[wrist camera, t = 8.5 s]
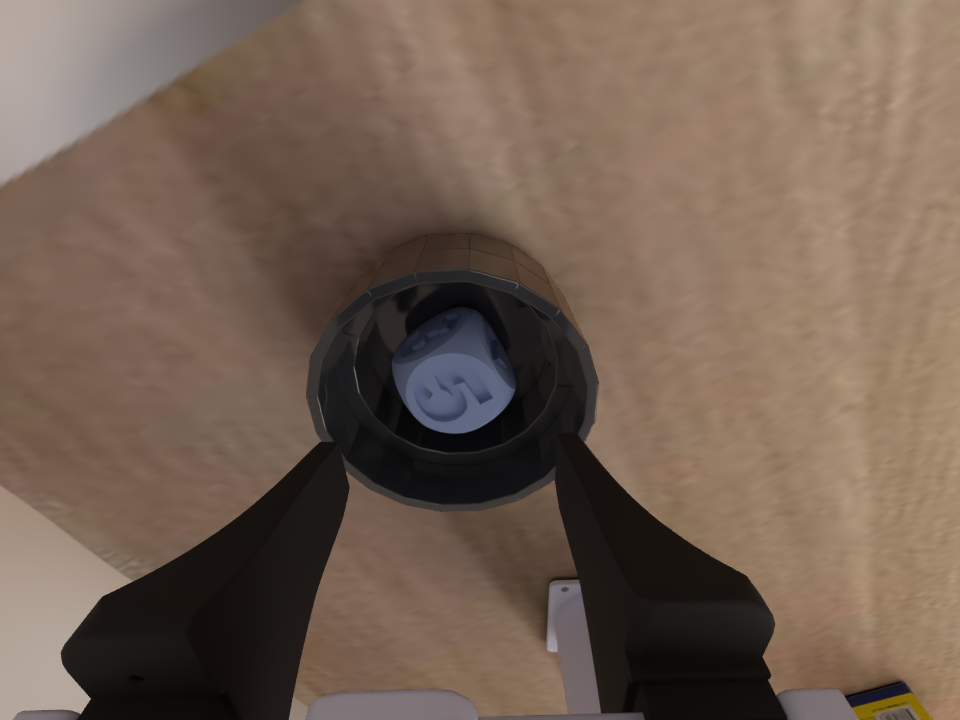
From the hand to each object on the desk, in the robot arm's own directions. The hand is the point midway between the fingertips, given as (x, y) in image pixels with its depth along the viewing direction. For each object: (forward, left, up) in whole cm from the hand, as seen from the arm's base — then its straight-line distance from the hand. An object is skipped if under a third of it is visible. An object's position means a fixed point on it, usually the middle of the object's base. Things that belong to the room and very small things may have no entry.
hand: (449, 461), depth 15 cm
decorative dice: (0, 0, -8) cm, 8 cm away
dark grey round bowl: (0, 0, -8) cm, 8 cm away
